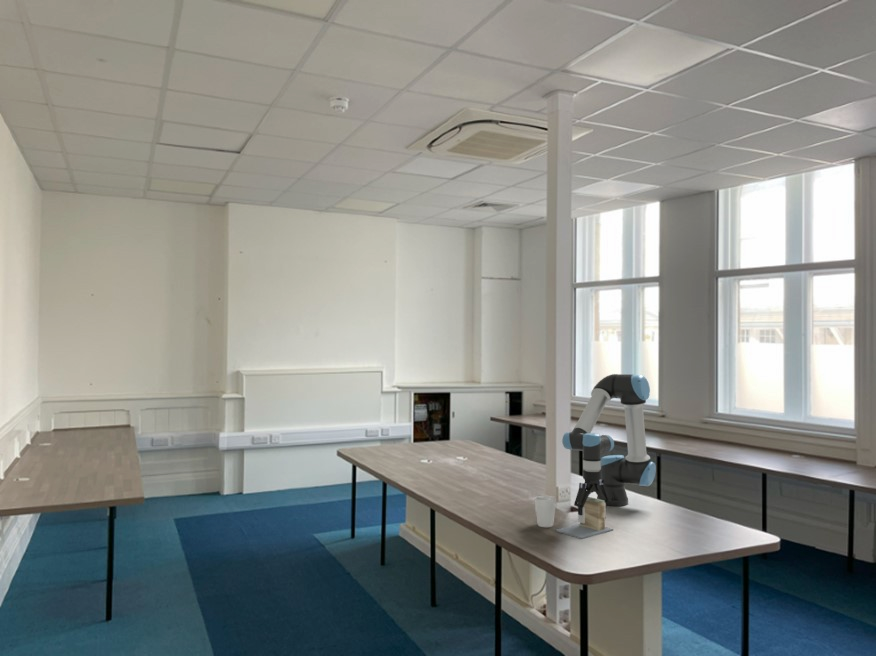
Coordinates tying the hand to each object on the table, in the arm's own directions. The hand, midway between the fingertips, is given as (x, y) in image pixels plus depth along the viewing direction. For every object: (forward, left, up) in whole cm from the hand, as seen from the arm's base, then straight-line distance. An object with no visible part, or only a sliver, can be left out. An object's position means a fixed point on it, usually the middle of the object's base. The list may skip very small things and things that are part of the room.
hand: (592, 520), depth 282 cm
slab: (0, 0, -3) cm, 3 cm away
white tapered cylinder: (+12, -16, -4) cm, 20 cm away
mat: (+5, 0, -4) cm, 6 cm away
